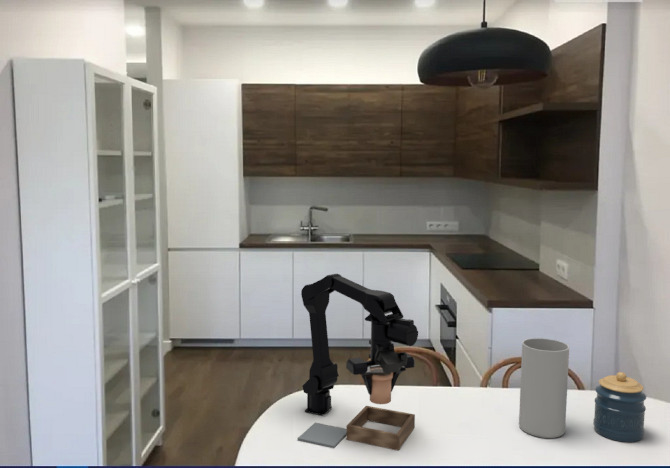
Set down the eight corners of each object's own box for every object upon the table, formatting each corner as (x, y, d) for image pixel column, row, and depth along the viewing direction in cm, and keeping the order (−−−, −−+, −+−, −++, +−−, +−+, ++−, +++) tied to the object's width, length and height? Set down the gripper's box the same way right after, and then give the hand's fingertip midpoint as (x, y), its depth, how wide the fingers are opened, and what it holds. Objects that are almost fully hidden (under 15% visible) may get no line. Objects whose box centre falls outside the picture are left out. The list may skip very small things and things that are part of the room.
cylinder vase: (522, 416, 173) (525, 336, 171) (566, 425, 168) (570, 341, 165) (515, 433, 162) (519, 347, 159) (563, 442, 157) (567, 353, 154)
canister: (639, 426, 167) (643, 367, 165) (647, 446, 155) (652, 383, 153) (591, 420, 171) (594, 362, 170) (595, 438, 159) (598, 377, 157)
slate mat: (297, 440, 157) (297, 438, 157) (315, 424, 167) (315, 422, 167) (334, 448, 153) (334, 446, 153) (350, 431, 163) (350, 429, 163)
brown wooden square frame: (346, 439, 158) (346, 425, 157) (365, 418, 171) (366, 405, 171) (398, 450, 152) (398, 436, 151) (414, 427, 165) (414, 414, 165)
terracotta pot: (364, 402, 159) (365, 374, 158) (373, 393, 165) (373, 366, 164) (387, 406, 156) (388, 377, 155) (395, 397, 162) (396, 370, 161)
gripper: (362, 350, 148) (361, 408, 149) (425, 343, 154) (424, 399, 156) (345, 338, 158) (345, 393, 160) (406, 332, 165) (404, 384, 167)
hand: (380, 392), depth 160 cm, fingers closed on terracotta pot, 6 cm apart
